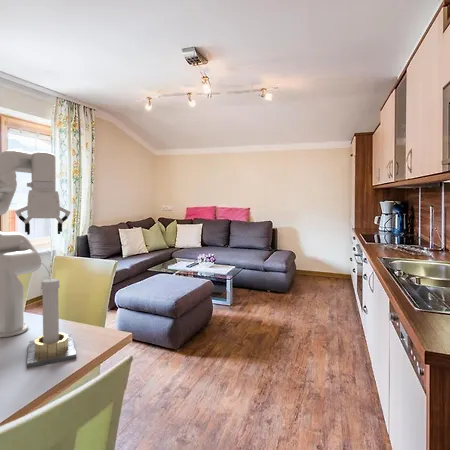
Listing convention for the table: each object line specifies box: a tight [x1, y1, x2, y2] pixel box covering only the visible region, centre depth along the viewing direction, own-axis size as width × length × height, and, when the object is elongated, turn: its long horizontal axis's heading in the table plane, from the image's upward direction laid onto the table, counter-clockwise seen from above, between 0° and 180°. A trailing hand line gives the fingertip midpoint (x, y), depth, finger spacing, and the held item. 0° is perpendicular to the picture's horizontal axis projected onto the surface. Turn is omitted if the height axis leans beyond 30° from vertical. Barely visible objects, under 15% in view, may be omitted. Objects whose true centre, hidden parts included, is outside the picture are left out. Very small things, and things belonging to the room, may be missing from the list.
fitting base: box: [26, 332, 77, 369], centre depth 111 cm, size 18×14×6 cm
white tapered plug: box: [40, 262, 61, 343], centre depth 108 cm, size 6×6×30 cm
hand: (44, 234), depth 116 cm, fingers open, 9 cm apart
